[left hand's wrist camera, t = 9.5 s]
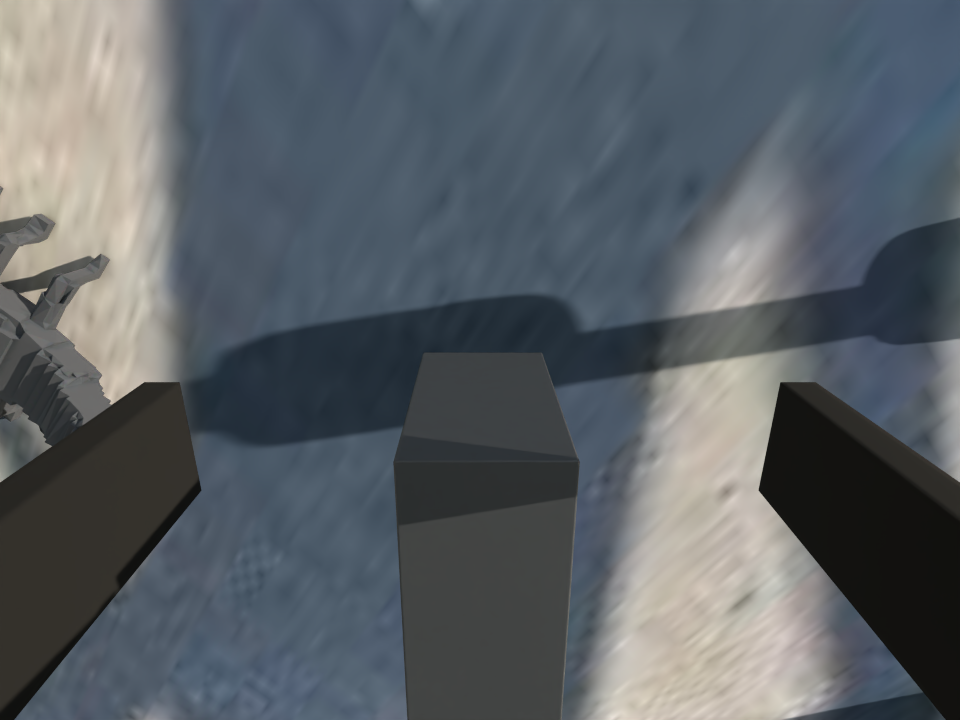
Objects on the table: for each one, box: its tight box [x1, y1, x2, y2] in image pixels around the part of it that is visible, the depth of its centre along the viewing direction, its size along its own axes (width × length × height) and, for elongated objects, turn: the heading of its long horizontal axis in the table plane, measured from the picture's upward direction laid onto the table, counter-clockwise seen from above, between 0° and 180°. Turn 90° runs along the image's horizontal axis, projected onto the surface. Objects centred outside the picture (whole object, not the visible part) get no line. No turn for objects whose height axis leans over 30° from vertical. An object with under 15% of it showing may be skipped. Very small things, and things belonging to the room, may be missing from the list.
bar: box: [394, 353, 580, 720], centre depth 21 cm, size 21×5×8 cm, turn 0°
